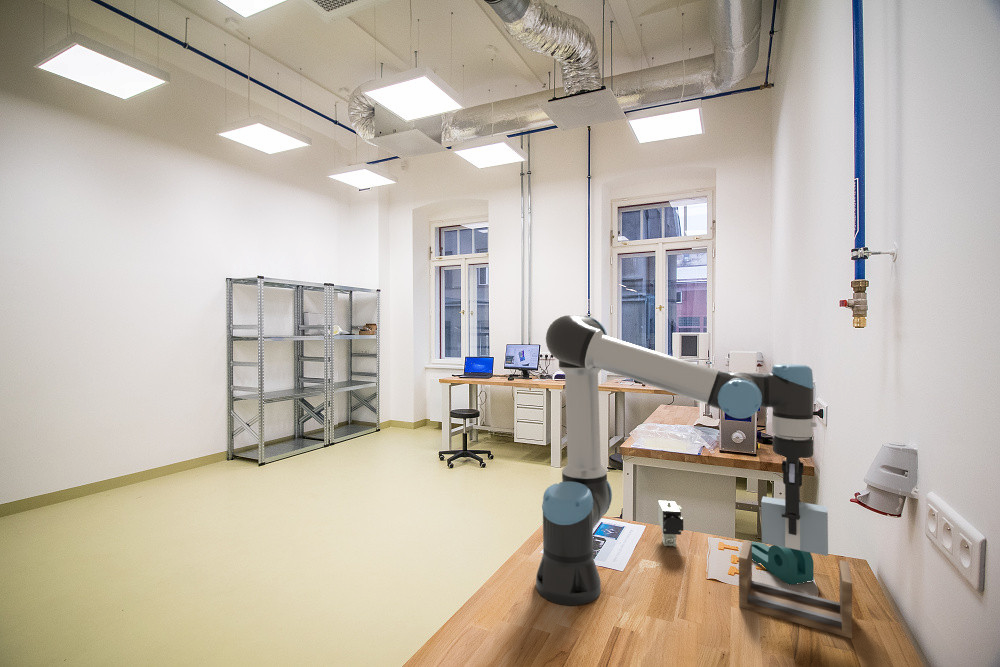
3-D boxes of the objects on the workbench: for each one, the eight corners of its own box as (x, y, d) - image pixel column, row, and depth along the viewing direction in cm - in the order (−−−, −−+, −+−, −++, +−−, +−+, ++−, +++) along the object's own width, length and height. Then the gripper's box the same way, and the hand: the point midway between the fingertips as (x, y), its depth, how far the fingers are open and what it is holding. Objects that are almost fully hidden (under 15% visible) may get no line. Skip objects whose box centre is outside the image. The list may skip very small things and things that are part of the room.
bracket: (813, 582, 114) (813, 550, 114) (789, 585, 113) (789, 553, 113) (759, 548, 132) (759, 520, 131) (737, 550, 130) (737, 522, 130)
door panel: (761, 542, 104) (761, 501, 104) (763, 535, 107) (762, 496, 107) (828, 556, 98) (827, 512, 97) (827, 548, 101) (827, 506, 101)
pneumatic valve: (664, 553, 129) (664, 509, 129) (657, 534, 141) (657, 494, 140) (685, 554, 128) (685, 510, 128) (676, 535, 140) (676, 495, 139)
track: (739, 606, 104) (738, 557, 104) (744, 585, 112) (744, 539, 112) (852, 638, 93) (852, 583, 93) (848, 612, 101) (848, 561, 101)
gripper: (813, 446, 93) (814, 565, 93) (813, 430, 107) (813, 533, 108) (769, 442, 97) (770, 555, 98) (775, 427, 112) (775, 525, 112)
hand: (792, 543), depth 103 cm, fingers closed on door panel, 4 cm apart
